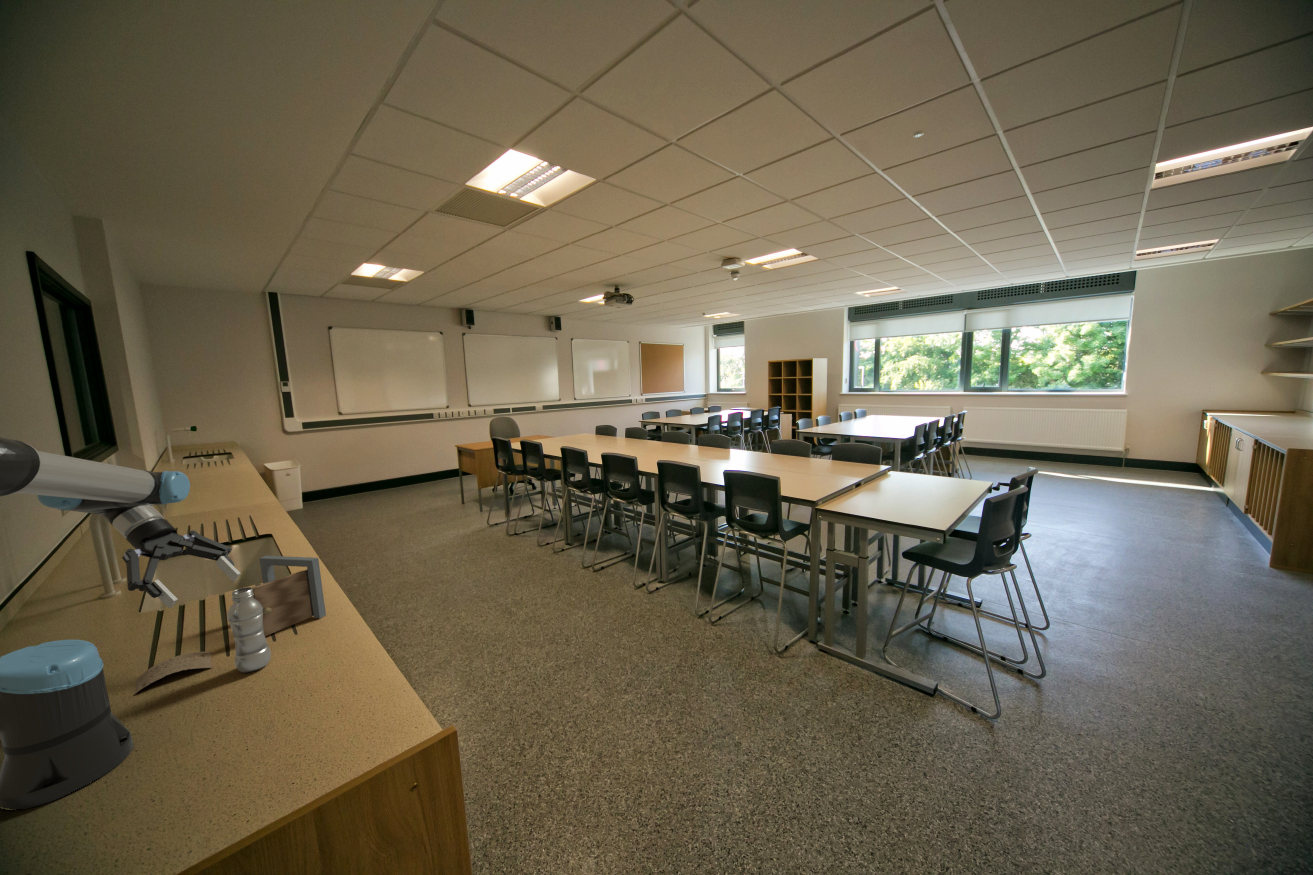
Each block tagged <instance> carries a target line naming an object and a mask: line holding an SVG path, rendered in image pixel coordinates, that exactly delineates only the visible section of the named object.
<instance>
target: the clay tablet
mask: <svg viewBox="0 0 1313 875" xmlns="http://www.w3.org/2000/svg"><path fill="white" fill-rule="evenodd" d="M193 669H194V670H195V669H213V666H212V652H210V651H195V652H194V651H193V652H189V653H184V654H180V655H177V656H173V657H171V658H170V657H169V658H168V659H166V660H164V661H163V660H162V661H161V662H159V663H157V664H154V665H153V666H151V667H150V668H148V669H147V670H145V671H144V672H143V673H142V674H141V675H139V676H138V677H137V678H136V679H135V680H136V681H135V686H134V687H135V688H134V693H133V695H132V696H135V695H136V694H138V692H140V691H141V690H142V689H144V688H146V687H147V686H149V685H150V684H152V683H154V682H156V681H158V680H160V679H163V678H164V677H166V676H169V675H171V674H174V673H179V672H181V671H187V670H193Z"/></svg>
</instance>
